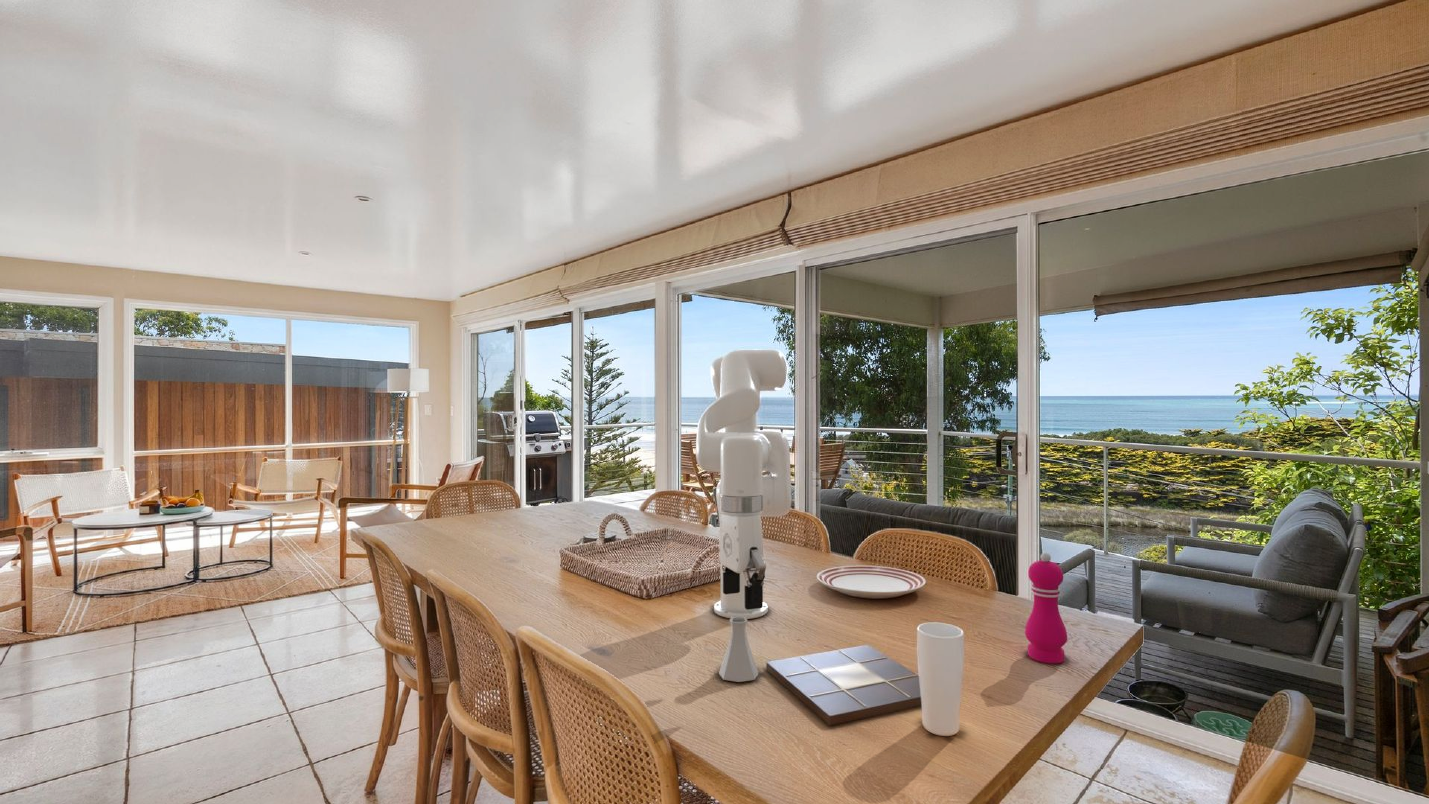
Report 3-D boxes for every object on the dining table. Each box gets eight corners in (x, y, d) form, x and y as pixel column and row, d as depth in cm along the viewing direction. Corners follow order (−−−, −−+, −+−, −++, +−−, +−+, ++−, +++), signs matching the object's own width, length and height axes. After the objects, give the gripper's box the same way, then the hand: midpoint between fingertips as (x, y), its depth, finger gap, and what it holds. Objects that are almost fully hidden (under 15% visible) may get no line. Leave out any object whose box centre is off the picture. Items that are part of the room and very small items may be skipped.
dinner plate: (805, 576, 182) (805, 564, 182) (900, 573, 185) (900, 561, 185) (834, 608, 155) (834, 594, 155) (944, 603, 158) (944, 589, 158)
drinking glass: (910, 718, 102) (909, 622, 101) (952, 716, 102) (951, 620, 102) (928, 741, 95) (927, 638, 95) (973, 739, 95) (972, 636, 95)
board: (766, 670, 120) (766, 661, 120) (867, 652, 128) (867, 644, 128) (829, 726, 100) (829, 715, 100) (945, 700, 108) (945, 690, 108)
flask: (759, 683, 114) (759, 626, 114) (718, 683, 115) (717, 626, 114) (758, 666, 122) (757, 612, 121) (719, 666, 122) (718, 612, 122)
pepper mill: (1050, 667, 120) (1050, 559, 120) (1016, 654, 127) (1016, 551, 126) (1075, 660, 124) (1075, 554, 123) (1041, 647, 130) (1040, 547, 130)
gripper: (704, 499, 124) (705, 590, 123) (742, 513, 107) (742, 617, 107) (741, 497, 126) (741, 586, 126) (782, 510, 110) (783, 612, 110)
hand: (742, 600), depth 117 cm, fingers open, 9 cm apart
